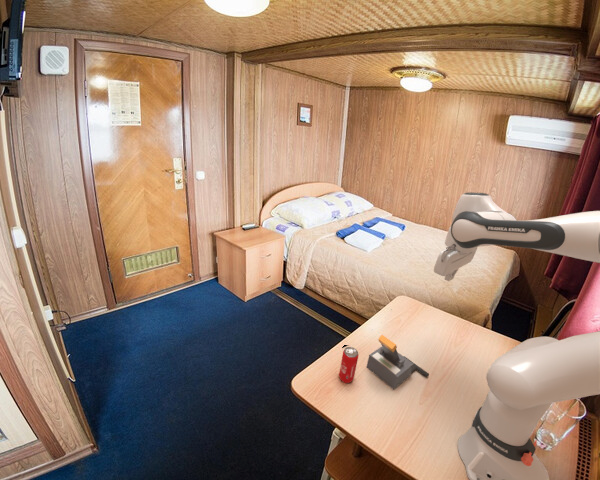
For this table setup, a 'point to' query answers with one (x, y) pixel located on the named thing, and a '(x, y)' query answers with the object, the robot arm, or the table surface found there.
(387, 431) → the table surface
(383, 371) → the breaker housing
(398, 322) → the table surface
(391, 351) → the breaker lever
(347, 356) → the beverage can
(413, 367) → the bar
